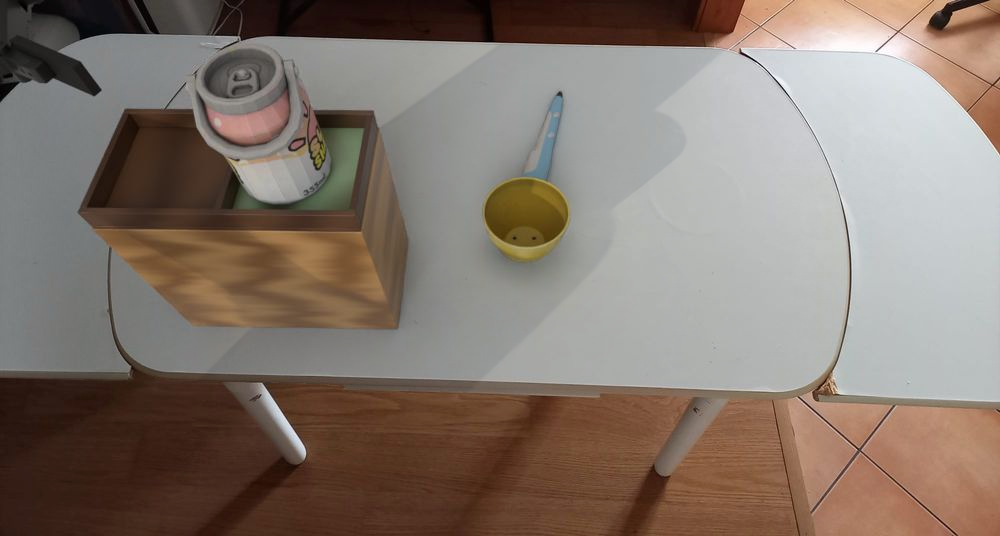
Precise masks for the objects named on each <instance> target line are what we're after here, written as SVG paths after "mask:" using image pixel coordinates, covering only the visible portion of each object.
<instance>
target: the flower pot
mask: <svg viewBox="0 0 1000 536" xmlns="http://www.w3.org/2000/svg"><path fill="white" fill-rule="evenodd" d="M571 213H572V212H571V207H570V203H569V201H568V199H567V197H566V196H565V194H564V192H563V191H562V190H561V189H559V188H558V186H556V185H554V184H553V183H552V182H549V181H547V180H546V181H544V180H541V179H538V178H533V177H522V176H520V177H513V178H510V179H507V180H505V181H502V182H500V183H499V184H498V185H497V184H496V186H494V188H492V189H491V190H490V192H489V193H487V196H486V198H485V199H484V202H483V205H482V219H483V224H484V227H485V229H486V232H487V235H488V237H489V238H490V240H491V241H492V243H493V244H494V246H495V247H496V248H497V249H498V250H499V252H501V253H502V254H503V255H504V256H506V257H507V258H509V259H511V260H513V261H515V262H520V263H531V262H535V261H538V260H541V259H542V258H543V257H545V256H546V255H548V254H549V253H551V252H552V251H553V250H554V249H555V248H556V246H557V245H558V244H559V243H560V241H561V240H562V238H563V237H564V235H565V233H566V231H567V229H568V226H569V224H570V221H571ZM514 238H515V239H514ZM533 238H534V239H533Z"/></svg>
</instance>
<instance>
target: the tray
mask: <svg viewBox="0 0 1000 536" xmlns="http://www.w3.org/2000/svg"><path fill="white" fill-rule="evenodd" d="M313 112H314V114H315V117H316V120H317V122H318V125H319V128H320V130H321V133H322V135H323V138H324V141H325V143H326V146H327V149H328V151H329V155H330V158H331V166H330V173H329V175H328V177H327V179H326V181H325V183H324V184H323V185H322V186H321V187H320V188H319V189H318V190H317V191H316V192H315V193H314V194H313V195H311V196H310V197H308V198H306V199H304V200H303V201H299V202H296V203H293V204H285V205H272V204H268V203H263V202H260V201H259V200H257V199H256V198H254V197H252V196H251V195H249V194H248V193H247V191H246V190H245V189H244V187H243V186H242V184H241V183H240V181H239V179H238V178H237V176H236V174H235V173H234V171H233V169H232V168H231V166H230V164H229V163H228V161H227V159H226V158H225V156H224V155H223V154H221V153H220V152H218V151H217V150H215V149H213V148H212V147H210V146H209V145H208V144H207V143H206V141H205V140H204V138H203V137H202V135H201V133H200V132H199V130H198V129H197V127H196V122H195V117H194V112H193V108H124V110H123V112H122V114H121V116H120V118H119V121H118V123H117V125H116V127H115V129H114V131H113V133H112V136H111V137H110V140H109V142H108V144H107V146H106V149H105V151H104V153H103V155H102V157H101V160H100V162H99V164H98V166H97V168H96V170H95V173H94V175H93V177H92V179H91V182H90V184H89V186H88V187H87V190H86V192H85V195H84V196H83V199H82V201H81V204H80V206H79V208H78V210H77V214H78V215H79V216H80V217H81V218H82V219H83V220H84V221H85V222H86V223H87V224H88V225H89V226H90V227H91V228H92V229H93V228H94V229H176V230H260V231H344V232H361V228H362V222H363V216H364V210H365V204H366V198H367V192H368V186H369V180H370V174H371V168H372V162H373V156H374V150H375V144H376V138H377V132H378V128H379V126H378V125H379V124H378V122H377V118H376V115H375V114H376V113H375V111H374V109H313Z"/></svg>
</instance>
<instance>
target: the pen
mask: <svg viewBox="0 0 1000 536" xmlns="http://www.w3.org/2000/svg"><path fill="white" fill-rule="evenodd" d="M563 103H564V96H563V92H562V90H560V91H558V92H557V93H556V95H555V96H554V97H553V99H552V101H551V103H550V105H549V109H548V111H547V114H546V117H545V120H544V123H543V125H542V128H541V131H540V134H539V136H538V139H537V141H536V143H535V145H534V148H533V149H532V150H531V151H530V152H529V154H528V155H527V158H526V162H525V165H524V167H523V171H522V175H521V177H533V178H538V179H541V180H544V181H547V177H548V174H549V170H550V168H551V163H552V153H553V148H554V143H555V140H556V137H557V132H558V128H559V123H560V119H561V115H562V110H563Z"/></svg>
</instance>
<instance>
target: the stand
mask: <svg viewBox="0 0 1000 536" xmlns="http://www.w3.org/2000/svg"><path fill="white" fill-rule="evenodd" d="M399 201H400V200H399V198H398V193H397V190H396V186H395V182H394V179H393V174H392V171H391V166H390V163H389V159H388V155H387V151H386V148H385V144H384V141H383V137H382V133H381V129H380V127H378V132H377V138H376V144H375V150H374V156H373V162H372V168H371V174H370V180H369V186H368V192H367V198H366V204H365V210H364V216H363V222H362V228H361V232H344V231H260V230H176V229H94V228H92V231H93V232H94V233H95V234H96V235H97V236H99V238H101V239H102V241H104V242H105V243H106V245H108V246H109V247H110V248H111V249H112V250H113V251H114V252H115V253H116V254H117V255H118V256H119V257H120V258H121V259H122V260H123V261H125V263H127V265H129V266H130V267H131V269H133V270H134V271H135V272H136V273H137V274H138V275H139V276H140V277H141V278H142V279H143V280H144V281H145V282H146V283H147V284H148V285H150V287H152V288H153V289H154V290H155V291H156V292H157V293H158V294H159V296H161V297H162V298H163V299H164V300H165V301H166V302H167V303H168V304H170V305H171V307H173V308H174V309H175V311H177V312H178V313H179V314H180V315H181V316H182V318H184V319H185V320H186V321H187V322H188V323H189V324H190V325H191V326H193V327H233V328H234V327H237V328H239V327H241V328H243V327H244V328H293V329H294V328H298V329H299V328H300V329H301V328H303V329H306V328H307V329H360V330H361V329H362V330H363V329H364V330H365V329H367V330H398V329H399V324H400V315H401V307H402V299H403V292H404V291H403V290H404V281H405V274H406V273H405V272H406V263H407V258H408V257H407V256H408V247H409V236H408V232H407V228H406V224H405V221H404V217H403V213H402V210H401V209H402V208H401V205H400V202H399Z"/></svg>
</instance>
